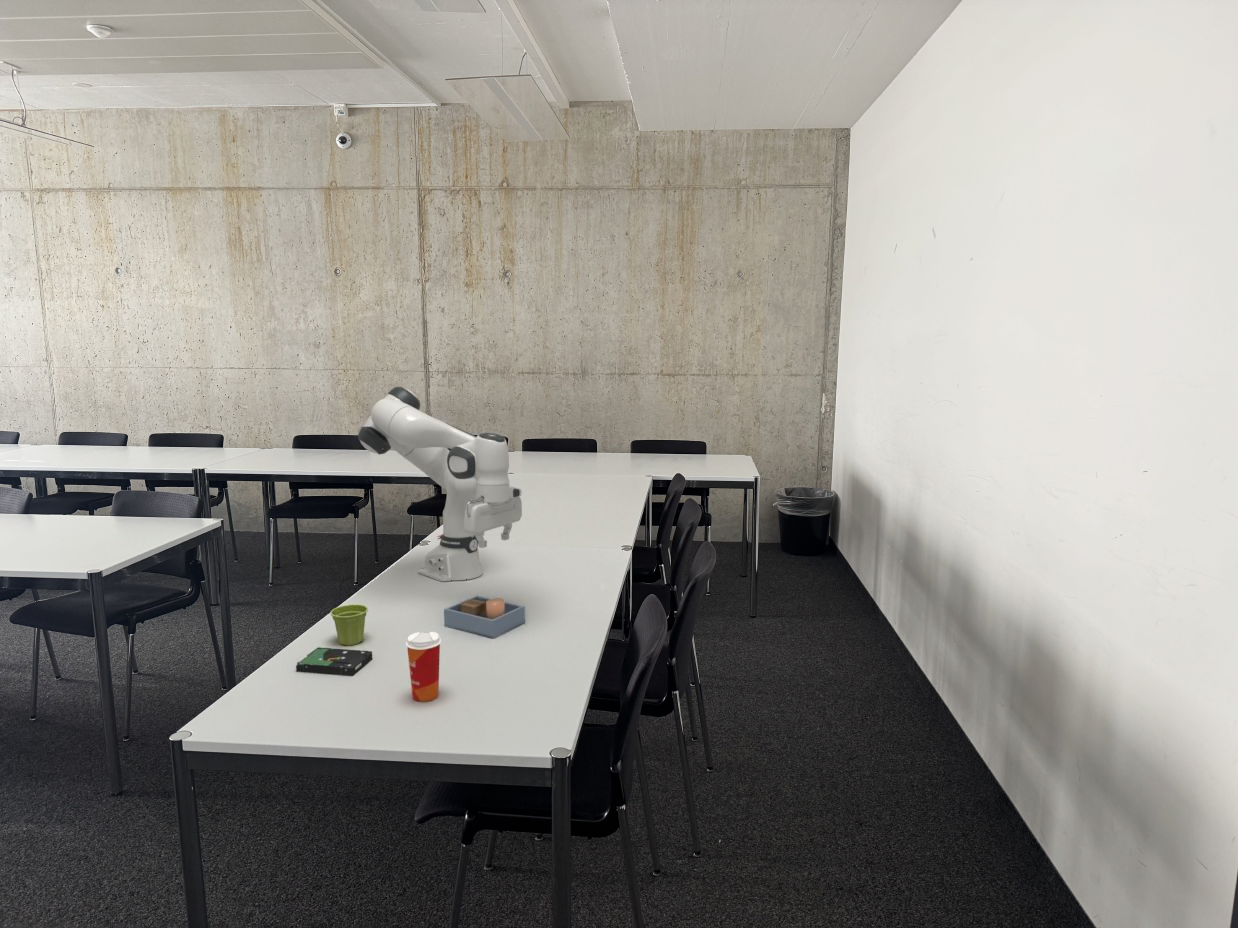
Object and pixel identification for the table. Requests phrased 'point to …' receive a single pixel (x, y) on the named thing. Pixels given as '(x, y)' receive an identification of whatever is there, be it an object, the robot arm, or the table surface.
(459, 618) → the tote
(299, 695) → the table surface
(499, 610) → the terracotta cylinder
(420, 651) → the paper cup
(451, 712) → the table surface
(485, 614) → the walnut cube
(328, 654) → the disk drive
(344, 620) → the plant pot
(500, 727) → the table surface
